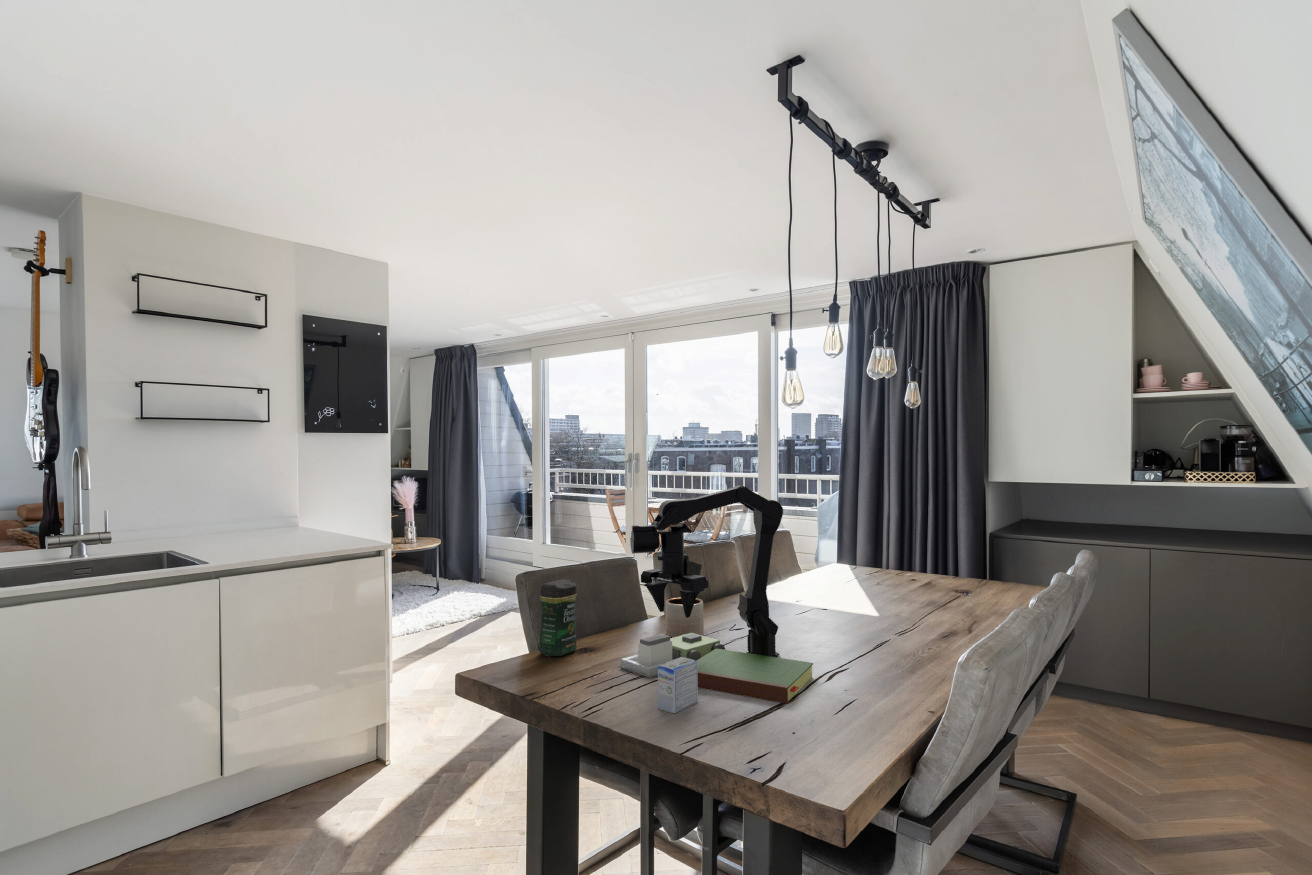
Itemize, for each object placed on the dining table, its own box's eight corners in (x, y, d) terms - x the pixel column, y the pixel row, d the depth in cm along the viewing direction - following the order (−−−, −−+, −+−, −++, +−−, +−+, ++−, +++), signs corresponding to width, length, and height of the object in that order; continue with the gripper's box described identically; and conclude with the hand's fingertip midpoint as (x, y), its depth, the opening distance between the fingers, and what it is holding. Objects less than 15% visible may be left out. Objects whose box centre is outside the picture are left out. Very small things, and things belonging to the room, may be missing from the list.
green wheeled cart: (725, 657, 166) (725, 637, 166) (690, 668, 158) (689, 647, 158) (687, 646, 176) (687, 627, 176) (652, 656, 168) (652, 636, 168)
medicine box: (681, 697, 138) (680, 656, 139) (698, 702, 135) (698, 660, 136) (657, 709, 132) (656, 665, 132) (674, 714, 129) (674, 669, 130)
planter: (660, 638, 184) (660, 603, 185) (671, 628, 195) (671, 596, 195) (698, 641, 181) (698, 606, 182) (707, 631, 192) (707, 598, 192)
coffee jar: (558, 659, 165) (558, 584, 166) (534, 654, 169) (534, 582, 170) (582, 649, 174) (581, 578, 174) (558, 645, 178) (558, 576, 178)
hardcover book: (681, 686, 146) (681, 669, 147) (716, 663, 163) (716, 648, 163) (790, 707, 134) (790, 688, 134) (816, 679, 150) (816, 663, 151)
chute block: (672, 665, 160) (672, 636, 160) (650, 672, 155) (650, 642, 155) (659, 661, 163) (659, 633, 163) (638, 667, 158) (638, 638, 159)
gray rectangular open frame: (686, 666, 159) (686, 658, 159) (649, 677, 151) (649, 668, 151) (657, 657, 167) (657, 649, 167) (620, 667, 159) (620, 658, 159)
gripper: (722, 550, 163) (724, 614, 162) (669, 544, 176) (671, 603, 176) (690, 556, 155) (693, 623, 155) (638, 549, 169) (640, 611, 168)
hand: (674, 614), depth 164 cm, fingers open, 9 cm apart
